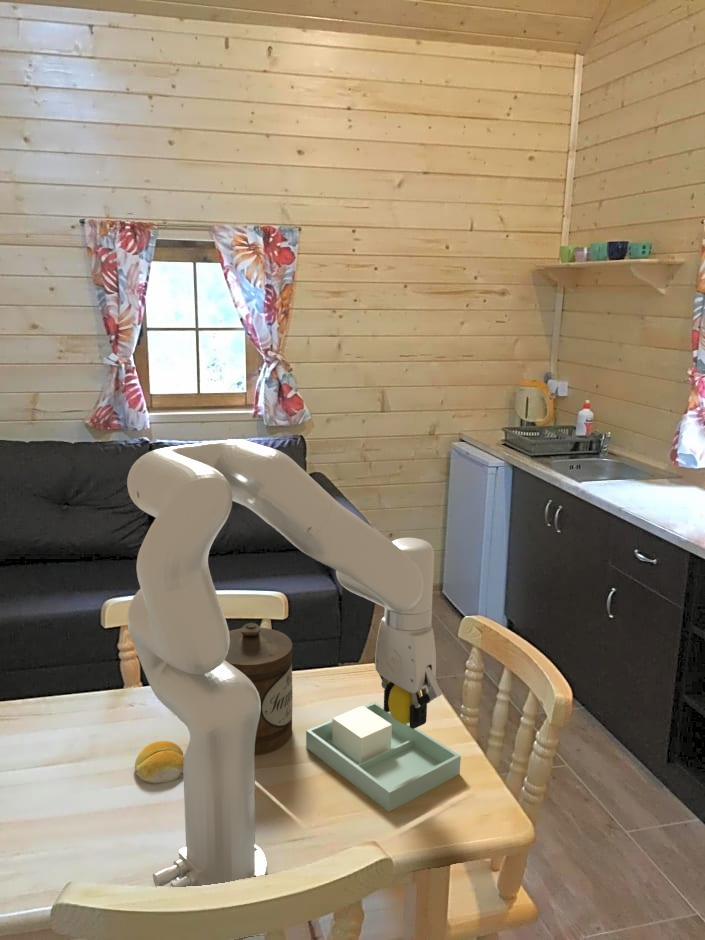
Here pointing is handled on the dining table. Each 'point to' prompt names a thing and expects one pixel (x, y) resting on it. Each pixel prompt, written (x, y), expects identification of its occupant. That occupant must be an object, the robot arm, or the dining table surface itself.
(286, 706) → the wooden container
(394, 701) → the lemon
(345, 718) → the carton
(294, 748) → the dining table surface
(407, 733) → the tray
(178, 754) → the bread roll
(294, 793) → the dining table surface
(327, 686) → the dining table surface
